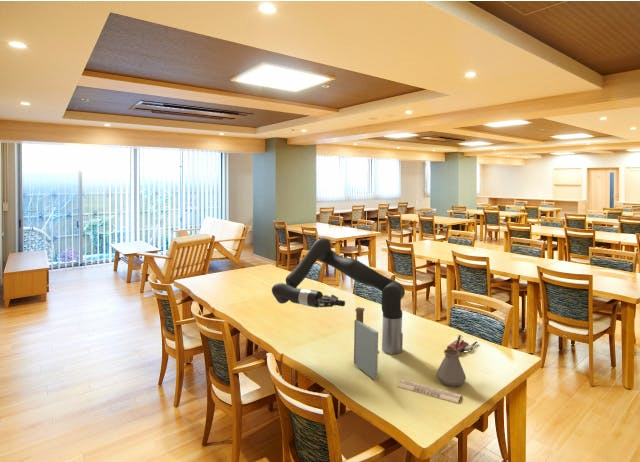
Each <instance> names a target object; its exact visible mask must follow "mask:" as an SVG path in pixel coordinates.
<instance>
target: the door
mask: <svg viewBox="0 0 640 462" xmlns="http://www.w3.org/2000/svg"><path fill="white" fill-rule="evenodd" d="M353 326H354V327H353V328H354V333H353V334H354V335H353V341H354V343H353V364H354V365H355V366H356V367H358V368H359V369H360V370H361V371H363V372H364V373H366V374H367V375H368V376H369V377H371V378H372V379H373V380H376V379H378V363H379V362H378V361H379V360H378V357H379V354H380V351H379V331H377V330H376V329H374V328H372V327H370V325H367V324H365V323H364V322H363V323H362V322H360V321H359V320H356V319H355V320H354V325H353Z"/></svg>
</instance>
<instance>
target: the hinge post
mask: <svg viewBox="0 0 640 462" xmlns="http://www.w3.org/2000/svg"><path fill="white" fill-rule="evenodd" d="M364 311H365V308H364V307H356V308H355V314H356V315H355V320H359V321H360V322H362V323H364Z"/></svg>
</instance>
